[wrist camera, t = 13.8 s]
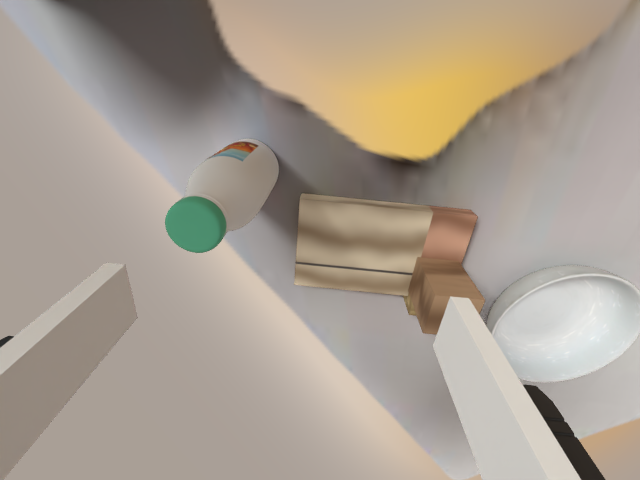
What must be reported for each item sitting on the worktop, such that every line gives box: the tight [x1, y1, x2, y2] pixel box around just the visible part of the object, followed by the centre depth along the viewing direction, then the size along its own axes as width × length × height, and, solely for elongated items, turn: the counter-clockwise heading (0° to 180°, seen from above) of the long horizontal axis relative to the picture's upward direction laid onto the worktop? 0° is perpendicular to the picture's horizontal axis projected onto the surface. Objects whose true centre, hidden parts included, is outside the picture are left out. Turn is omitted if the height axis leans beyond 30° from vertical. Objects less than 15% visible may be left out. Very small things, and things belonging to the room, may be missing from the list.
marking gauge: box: [403, 257, 485, 334], centre depth 44 cm, size 8×6×11 cm
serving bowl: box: [486, 265, 640, 383], centre depth 48 cm, size 21×21×7 cm
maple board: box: [294, 193, 478, 296], centre depth 46 cm, size 14×24×2 cm, turn 85°
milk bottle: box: [165, 139, 279, 253], centre depth 34 cm, size 8×8×20 cm
